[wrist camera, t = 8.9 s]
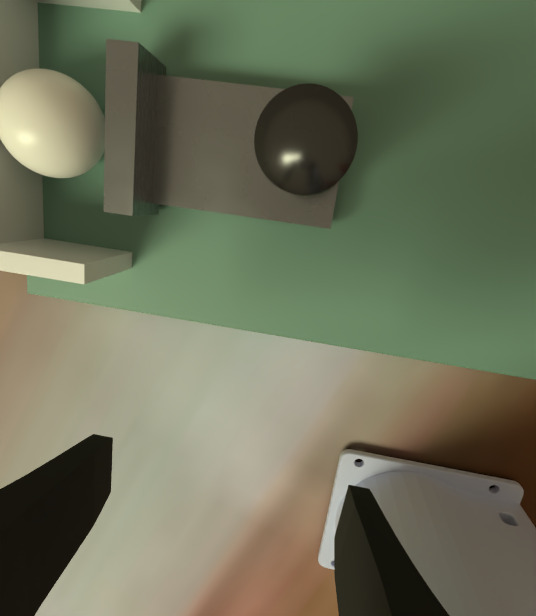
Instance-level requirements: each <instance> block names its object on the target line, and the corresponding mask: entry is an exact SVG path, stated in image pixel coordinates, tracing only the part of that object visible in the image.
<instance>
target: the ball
mask: <svg viewBox="0 0 536 616" xmlns="http://www.w3.org/2000/svg"><path fill="white" fill-rule="evenodd" d="M0 139H1V141H2V143H3V144H4V146H5V147H6V149H7V150H8V151H9V152H10V154H11V155H12V156H13V157H14V158H15V159H17V160H18V161H19V162H20V163H21V164H23V165H24V166H25V167H27V168H29V169H30V170H32V171H34V172H36V173H39V174H42V175H44V176H48V177H53V178H71V177H76V176H79V175H82V174H84V173H86V172H88V171H89V170H91V169H92V168H93V167H94V166H95V165H96V164H97V163H98V162H99V160H100V159H101V157H102V155H103V153H104V150H105V118H104V115H103V113H102V110H101V108H100V106H99V105H98V103H97V101H96V100H95V99H94V97H93V96H92V95H91V94H90V92H89V91H88V90H87V89H86V88H84V87H83V86H82V85H81V84H80V83H78V82H77V81H76V80H74V79H72V78H71V77H69V76H67V75H65V74H63V73H60V72H57V71H54V70H49V69H28V70H24V71H21V72H18V73H16V74H14V75H13V76H11V77H10V78H9V79H7V80H6V81H5V82H4V83H3V85H2V86H1V88H0Z"/></svg>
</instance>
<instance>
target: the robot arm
mask: <svg viewBox="0 0 536 616" xmlns="http://www.w3.org/2000/svg"><path fill="white" fill-rule="evenodd" d="M112 443H113V438H110V437H105V436H100V435H95V434H93V435H91V436H89V437H88V438H86V439H84V440H83V441H81V442H80V443H78V444H76V445H75V446H73V447H72V448H70V449H68V450H67V451H65V452H63V453H62V454H60V455H59V456H57V457H55V458H54V459H52V460H50V461H49V462H47V463H45V464H44V465H42V466H40V467H39V468H37V469H35V470H34V471H32V472H30V473H29V474H27V475H25V476H24V477H22V478H20V479H18V480H16V481H14V482H13V483H11V484H9V485H7V486H5V487H4V488H2V489H0V616H34V615H35V614H36V612H37V610H38V609H39V607H40V606H41V604H42V602H43V601H44V599H45V598H46V596H47V595H48V593H49V592H50V590H51V589H52V587H53V586H54V584H55V583H56V581H57V580H58V578H59V577H60V576H61V574H62V573H63V571H64V570H65V568H66V567H67V565H68V564H69V562H70V561H71V559H72V558H73V556H74V555H75V553H76V552H77V550H78V548H79V547H80V545H81V544H82V542H83V541H84V539H85V538H86V536H87V535H88V533H89V532H90V530H91V529H92V527H93V526H94V524H95V522H96V520H97V518H98V516H99V514H100V512H101V510H102V508H103V506H104V504H105V502H106V500H107V498H108V496H109V494H110V492H111V471H112ZM356 459H362V460H363V461H362V462H355V460H356ZM492 485H496V486H495V487H494V488H489V487H490V486H492ZM523 495H524V490H523V488H522V487H521V485H520V484H519V483H518V482H516V481H513V480H508V479H503V478H497V477H492V476H487V475H482V474H477V473H471V472H466V471H461V470H456V469H451V468H445V467H440V466H435V465H430V464H425V463H419V462H414V461H409V460H404V459H399V458H393V457H388V456H383V455H378V454H373V453H367V452H362V451H357V450H352V449H346V450H344V451H343V452H341V454H340V458H339V462H338V467H337V471H336V476H335V481H334V485H333V490H332V494H331V499H330V504H329V508H328V513H327V517H326V522H325V527H324V531H323V536H322V540H321V545H320V550H319V554H318V562H319V564H320V565H321V566H323V567H325V568H329V569H334V570H335V584H336V593H337V602H338V611H339V616H536V528H535V526H534V525H533V523H532V522H531V520H530V519H529V517H528V516H527V514H526V513H525V511H524V510H523V508H522V507H521V505H520V502H521V500H522V497H523ZM333 560H334V561H333Z"/></svg>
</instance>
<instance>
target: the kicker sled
mask: <svg viewBox="0 0 536 616" xmlns="http://www.w3.org/2000/svg"><path fill="white" fill-rule="evenodd" d="M353 99H354V97H349V96H341V95H339V94H337V93H336V92H335V91H333V90H331V89H330V88H328V87H325V86H322V85H318V84H309V83H306V84H298V85H294V86H291V87H289V88H286V89H280V88H271V87H262V86H253V85H245V84H236V83H227V82H219V81H210V80H201V79H192V78H184V77H175V76H166V66H164V65H163V64H162V63H161V62H160V61H159V60H158V59H157V58H156V57H155V56H153V55H152V54H151V53H150V52H149V51H148V50H147V49H146V48H145V47H143V46H142V45H141V44H140V43H139V42H133V41H124V40H114V39H106V83H105V150H104V212H109V213H115V214H122V215H129V216H140V215H156V214H159V204H162V205H169V206H176V207H183V208H189V209H196V210H203V211H210V212H217V213H224V214H231V215H238V216H245V217H252V218H259V219H266V220H272V221H279V222H286V223H293V224H300V225H307V226H314V227H321V228H328V229H331V224H332V218H333V212H334V207H335V201H336V195H337V189H338V184H339V180H340V179H341V178H342V177H343V176H344V175H345V173H346V172H347V170H348V169H349V167H350V165H351V164H352V162H353V159H354V156H355V153H356V149H357V143H358V131H357V124H356V120H355V117H354V115H353V112H352V104H353Z"/></svg>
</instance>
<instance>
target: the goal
mask: <svg viewBox="0 0 536 616" xmlns="http://www.w3.org/2000/svg"><path fill="white" fill-rule="evenodd" d="M38 2H39V3H49V4H59V5H69V6H79V7H89V8H99V9H109V10H119V11H129V12H138V13H141V0H0V88H1V86H2V85H3V83H4V82H5V81H6V80H7V79H9V78H10V77H11V76H13V75H14V74H16V73H18V72H21V71H24V70H28V69H39V37H38ZM131 268H132V252H129V251H123V250H116V249H110V248H104V247H97V246H91V245H84V244H78V243H72V242H65V241H59V240H52V239H46V238H44V220H43V184H42V174H39V173H36V172H34V171H32V170H30V169H29V168H27V167H25V166H24V165H23V164H21V163H20V162H19V161H18V160H17V159H15V158H14V157H13V156H12V155H11V154H10V152H9V151H8V150H7V149H6V147H5V146H4V144H3V143H2V141H1V139H0V271H6V272H12V273H18V274H24V275H31V276H37V277H43V278H49V279H55V280H61V281H67V282H73V283H79V284H87V283H90V282H93V281H96V280H99V279H102V278H105V277H107V276H110V275H113V274H116V273H119V272H122V271H125V270H128V269H131Z"/></svg>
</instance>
